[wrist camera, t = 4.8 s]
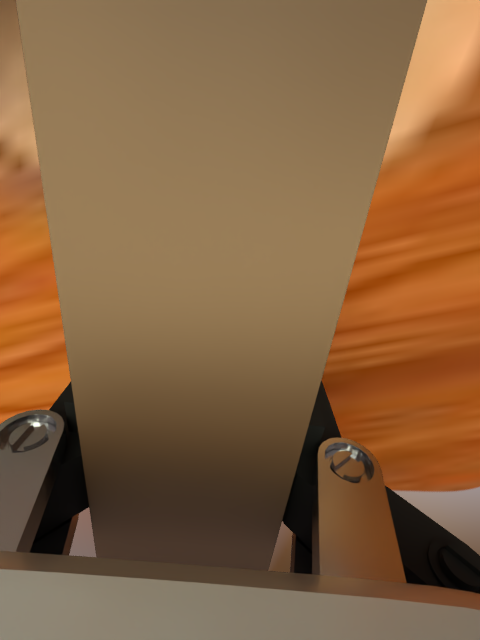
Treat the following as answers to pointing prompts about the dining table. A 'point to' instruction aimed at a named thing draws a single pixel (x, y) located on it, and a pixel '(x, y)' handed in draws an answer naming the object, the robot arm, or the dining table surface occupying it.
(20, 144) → the dining table surface
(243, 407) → the rail
